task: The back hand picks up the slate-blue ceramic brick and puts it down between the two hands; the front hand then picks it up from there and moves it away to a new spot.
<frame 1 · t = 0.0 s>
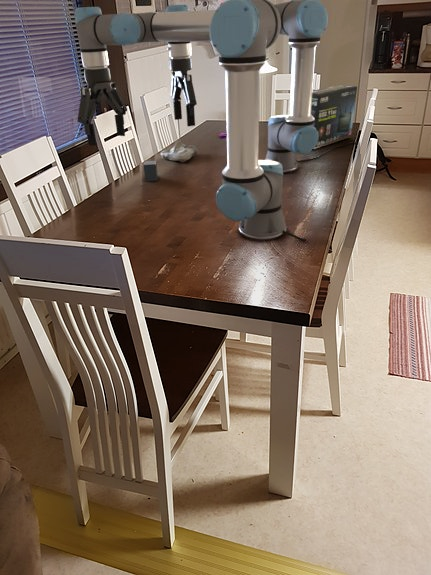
front hand: (107, 140, 148), 28 cm above the table, tool pointing down, fingers open, 13 cm apart
back hand: (184, 122, 167), 28 cm above the table, tool pointing down, fingers open, 13 cm apart
fossil: (178, 158, 230), on the table
handgun: (230, 139, 259), on the table
brick: (151, 179, 202), on the table
router box: (325, 143, 245), on the table
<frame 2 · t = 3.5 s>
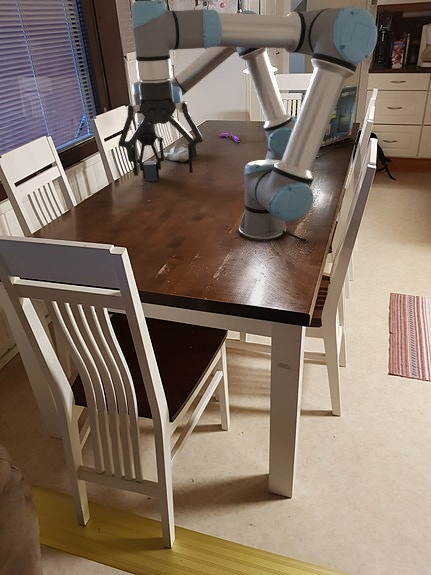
front hand: (163, 172, 115), 28 cm above the table, tool pointing down, fingers open, 13 cm apart
back hand: (151, 177, 202), 1 cm above the table, tool pointing down, fingers closed on brick, 5 cm apart
brick: (151, 179, 202), on the table, touching back hand
everything else where it was.
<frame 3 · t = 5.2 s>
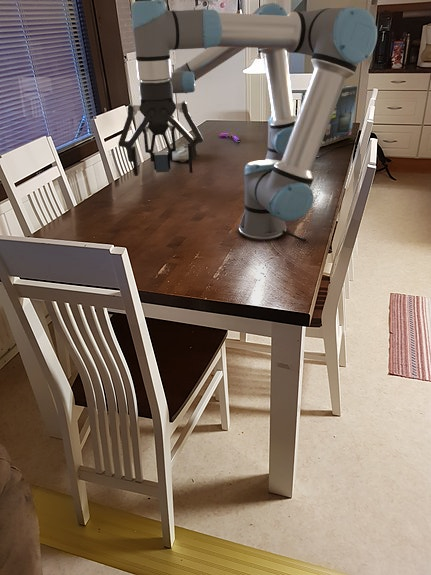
front hand: (163, 172, 115), 28 cm above the table, tool pointing down, fingers open, 13 cm apart
back hand: (162, 168, 193), 6 cm above the table, tool pointing down, fingers closed on brick, 5 cm apart
brick: (162, 170, 194), point 6 cm above the table, touching back hand
everything else where it was.
when the back hand's fingers open (2 cm above the table, at t = 6.7 s): brick drops 1 cm, on the table.
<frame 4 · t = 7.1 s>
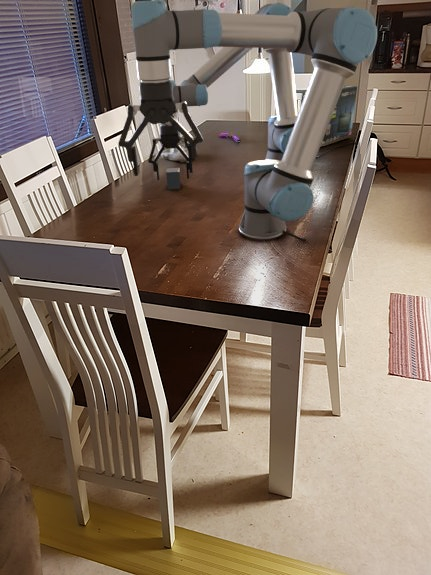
front hand: (163, 172, 115), 28 cm above the table, tool pointing down, fingers open, 13 cm apart
back hand: (173, 178, 190), 4 cm above the table, tool pointing down, fingers open, 11 cm apart
brick: (174, 187, 192), on the table
everything else where it was.
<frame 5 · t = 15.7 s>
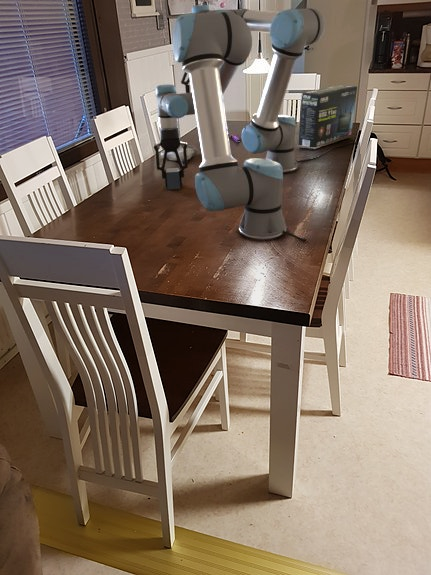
front hand: (173, 185, 191), 1 cm above the table, tool pointing down, fingers closed on brick, 5 cm apart
back hand: (204, 100, 208), 28 cm above the table, tool pointing down, fingers open, 13 cm apart
brick: (174, 187, 192), on the table, touching front hand
everything else where it was.
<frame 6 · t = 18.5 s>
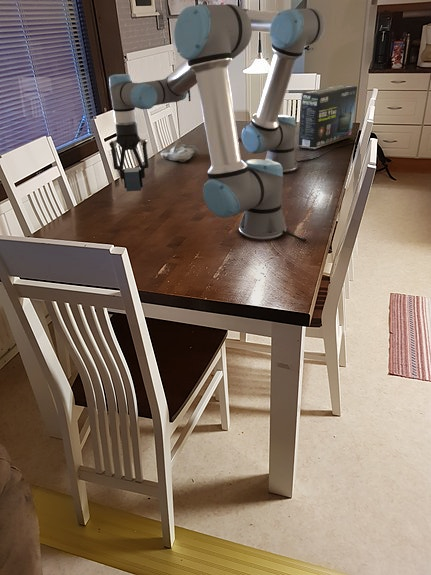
front hand: (134, 186, 173), 7 cm above the table, tool pointing down, fingers closed on brick, 5 cm apart
back hand: (204, 100, 208), 28 cm above the table, tool pointing down, fingers open, 13 cm apart
brick: (134, 188, 173), point 6 cm above the table, touching front hand
everything else where it was.
when the front hand's fingers open (2 cm above the table, at t = 21.6 s): brick drops 1 cm, on the table.
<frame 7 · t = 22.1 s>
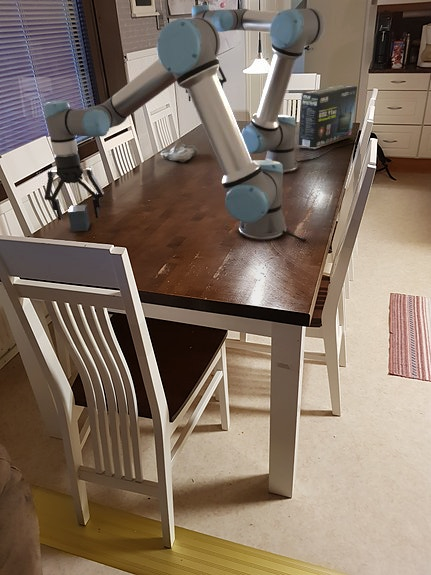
front hand: (79, 217, 156), 4 cm above the table, tool pointing down, fingers open, 12 cm apart
back hand: (204, 100, 208), 28 cm above the table, tool pointing down, fingers open, 13 cm apart
brick: (81, 227, 158), on the table
everything else where it was.
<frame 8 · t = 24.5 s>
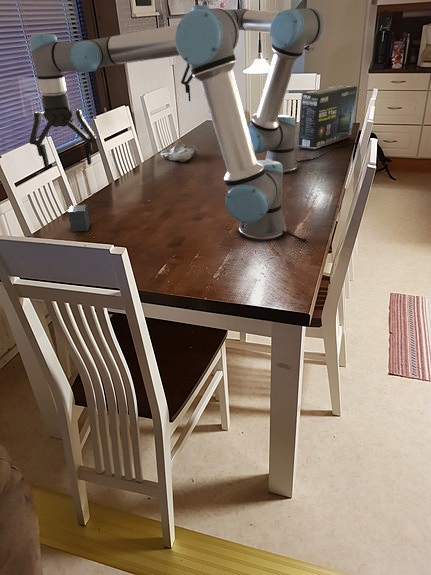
front hand: (68, 164, 147), 22 cm above the table, tool pointing down, fingers open, 13 cm apart
back hand: (204, 100, 208), 28 cm above the table, tool pointing down, fingers open, 13 cm apart
nothing on the table moved.
at the end: brick inside the target area (0.0 cm from its centre), on the table; brick tilted 0°; the two hands never held the brick at the same time; the front hand is holding nothing; the back hand is holding nothing; brick at rest at the end (0.0 cm/s) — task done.
